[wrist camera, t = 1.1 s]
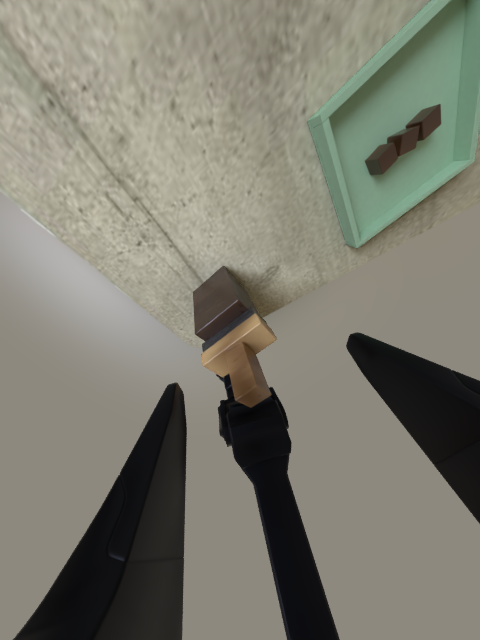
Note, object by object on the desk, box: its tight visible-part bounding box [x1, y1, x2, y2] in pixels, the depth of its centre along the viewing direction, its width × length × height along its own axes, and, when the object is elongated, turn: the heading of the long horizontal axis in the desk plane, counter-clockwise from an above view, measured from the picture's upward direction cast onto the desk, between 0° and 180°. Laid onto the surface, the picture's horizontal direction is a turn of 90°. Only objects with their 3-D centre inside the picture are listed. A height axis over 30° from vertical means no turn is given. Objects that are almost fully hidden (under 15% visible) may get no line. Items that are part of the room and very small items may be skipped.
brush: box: [202, 307, 277, 408], centre depth 14 cm, size 6×3×7 cm, turn 127°
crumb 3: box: [405, 104, 441, 141], centre depth 16 cm, size 2×2×2 cm
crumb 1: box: [365, 142, 398, 175], centre depth 17 cm, size 2×2×2 cm
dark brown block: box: [193, 266, 260, 341], centre depth 20 cm, size 5×5×8 cm
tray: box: [308, 0, 480, 248], centre depth 17 cm, size 13×13×2 cm
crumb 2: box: [387, 125, 420, 157], centre depth 17 cm, size 2×2×2 cm
